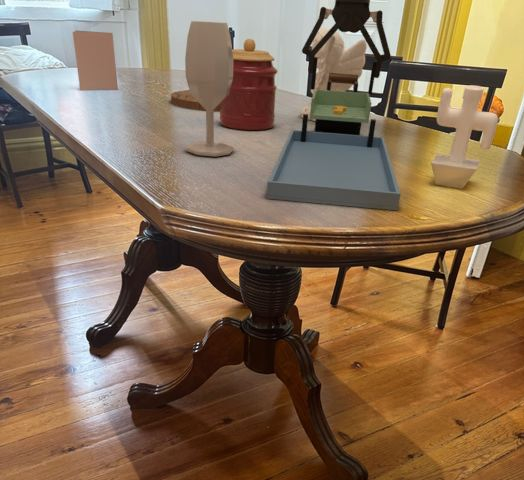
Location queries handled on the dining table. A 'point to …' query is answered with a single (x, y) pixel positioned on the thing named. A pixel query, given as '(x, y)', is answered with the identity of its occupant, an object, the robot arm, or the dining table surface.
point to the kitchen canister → (250, 90)
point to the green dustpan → (341, 101)
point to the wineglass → (209, 77)
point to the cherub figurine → (336, 63)
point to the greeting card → (95, 60)
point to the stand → (338, 128)
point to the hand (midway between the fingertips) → (341, 91)
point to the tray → (335, 171)
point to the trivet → (188, 101)
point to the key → (339, 109)
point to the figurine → (462, 136)
